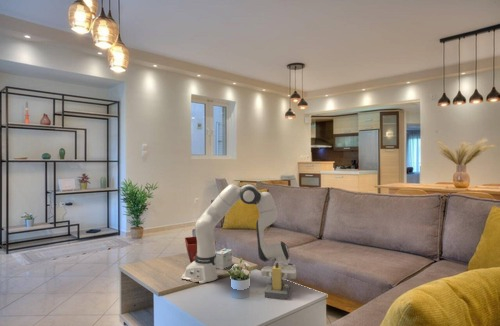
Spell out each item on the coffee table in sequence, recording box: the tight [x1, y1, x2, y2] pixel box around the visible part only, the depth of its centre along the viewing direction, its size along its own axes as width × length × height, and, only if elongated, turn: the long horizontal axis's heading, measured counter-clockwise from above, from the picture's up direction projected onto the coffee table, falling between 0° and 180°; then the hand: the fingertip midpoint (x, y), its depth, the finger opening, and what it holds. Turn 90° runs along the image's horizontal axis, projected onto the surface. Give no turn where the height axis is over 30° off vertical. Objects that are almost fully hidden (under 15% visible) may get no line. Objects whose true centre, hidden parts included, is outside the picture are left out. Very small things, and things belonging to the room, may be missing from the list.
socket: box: [264, 282, 290, 301], centre depth 175 cm, size 12×12×4 cm
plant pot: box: [184, 236, 217, 264], centre depth 221 cm, size 19×19×17 cm
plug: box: [271, 262, 283, 291], centre depth 174 cm, size 4×4×16 cm
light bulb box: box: [215, 247, 233, 270], centre depth 215 cm, size 11×7×11 cm, turn 149°
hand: (277, 278), depth 173 cm, fingers open, 5 cm apart
